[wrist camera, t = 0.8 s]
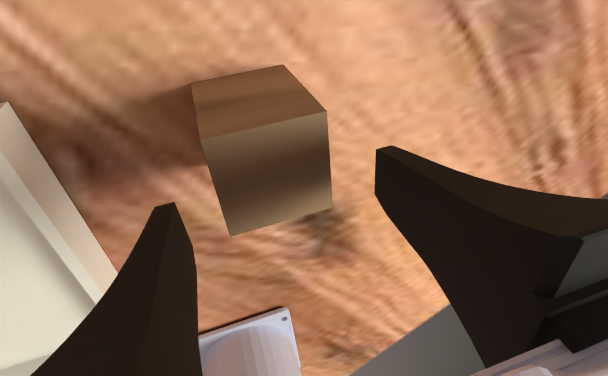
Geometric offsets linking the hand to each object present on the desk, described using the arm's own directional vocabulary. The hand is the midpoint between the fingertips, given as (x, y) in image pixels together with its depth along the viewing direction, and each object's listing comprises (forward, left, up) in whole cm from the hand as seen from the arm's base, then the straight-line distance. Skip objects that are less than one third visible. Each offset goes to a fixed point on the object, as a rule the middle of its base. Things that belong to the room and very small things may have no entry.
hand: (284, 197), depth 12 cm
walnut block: (0, 0, -7) cm, 7 cm away
